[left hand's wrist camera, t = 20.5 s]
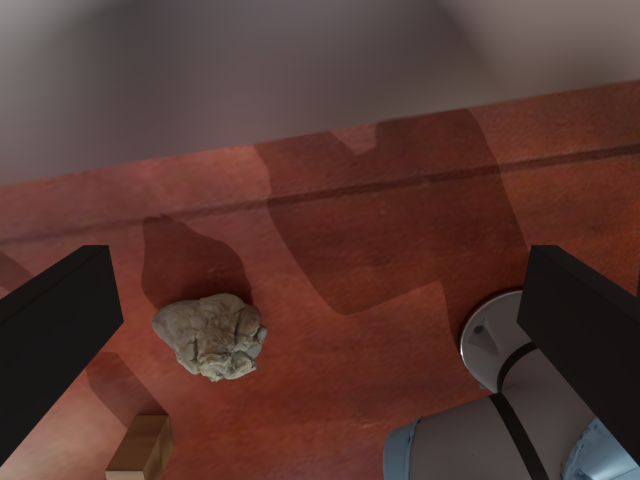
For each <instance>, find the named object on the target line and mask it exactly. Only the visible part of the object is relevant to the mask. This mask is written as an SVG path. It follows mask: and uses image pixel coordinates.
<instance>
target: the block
mask: <svg viewBox="0 0 640 480" xmlns="http://www.w3.org/2000/svg"><path fill="white" fill-rule="evenodd" d="M173 449H174V444H173V438H172V432H171V426H170V421H169V415H136V417H135V419H134V420H133V422H132V424H131V426H130V428H129V429H128V431H127V433H126V435H125V436H124V438H123V440H122V442H121V443H120V445H119V447H118V449H117V451H116V452H115V454H114V456H113V458H112V459H111V461H110V463H109V465H108V466H107V468H106V470H105V474H106V478H107V480H161V478H162V476H163V474H164V471H165V469H166V466H167V464H168V461H169V459H170V456H171V454H172V451H173Z"/></svg>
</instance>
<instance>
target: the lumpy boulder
mask: <svg viewBox="0 0 640 480" xmlns="http://www.w3.org/2000/svg"><path fill="white" fill-rule="evenodd" d="M260 319H261V313H260V311H259V310H258V308H257V307H256V306H254V305H252V306H251V305H248V304H246V303H243V300H241V299H240V298H238V297H237V296H235V295H232V294H228V293H222V294H217V295H213V296H209V297H205V298H200V300H183V301H178V302H175V303H172V304H169V305H167V306H165V307H163V308H161V309H160V310H159V311H158V312H157V313H156V314H155V315H154V317H153V319H152V327H153V329H154V331H155V333H156V334H157V335H158V336H159V337H160V338H161V339H162V340H163V341H165V342H166V343H167V344H168V345H169V346H170V347H171V348H172V349H173V350H174V352H175V353H176V359H177V360H178V362H179V363H181V364H182V365H184V367H185V368H186V369H187V370H189V371H190V372H191V373H192V374H198V373H199V372H200V373H202V375H204V376H208V377H209V379H210V380H211V381H212V382H213V381H218V380H219V379H222V378H226V379H234V378H238V377H241V376H243V375H244V374H246V373H249V372H250V371H253V370H256V365H257V364H256V361H255V357H256V356H257V355H258V353H259V352H260V351H261V343H263V342H264V340H265V336H266V334H267V328H266V327H264V326H263V325H261V324H260Z"/></svg>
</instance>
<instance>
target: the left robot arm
mask: <svg viewBox="0 0 640 480" xmlns="http://www.w3.org/2000/svg"><path fill="white" fill-rule="evenodd" d="M123 322H124V321H123V316H122V311H121V306H120V301H119V296H118V291H117V286H116V281H115V276H114V271H113V266H112V261H111V256H110V251H109V246H108V245H83V246H82V247H80V248H79V249H77V250H76V251H74V252H73V253H71V254H69V255H68V256H66V257H65V258H63V259H62V260H60V261H59V262H57V263H56V264H54V265H53V266H51V267H49V268H48V269H46V270H45V271H43V272H42V273H40V274H39V275H37V276H36V277H34V278H33V279H31V280H30V281H28V282H26V283H25V284H23V285H22V286H20V287H19V288H17V289H16V290H14V291H13V292H11V293H10V294H8V295H7V296H5V297H3V298H2V299H0V467H1V466H2V465H3V464H4V462H5V461H6V460H7V459H8V458H9V456H10V455H11V454H12V453H13V452H14V451H15V449H16V448H17V447H18V446H19V445H20V444H21V442H22V441H23V440H24V439H25V438H26V436H27V435H28V434H29V433H30V432H31V431H32V429H33V428H34V427H35V426H36V425H37V424H38V422H39V421H40V420H41V419H42V418H43V416H44V415H45V414H46V413H47V412H48V411H49V409H50V408H51V407H52V406H53V405H54V404H55V402H56V401H57V400H58V399H59V398H60V396H61V395H62V394H63V393H64V392H65V391H66V389H67V388H68V387H69V386H70V385H71V384H72V382H73V381H74V380H75V379H76V378H77V376H78V375H79V374H80V373H81V372H82V371H83V369H84V368H85V367H86V366H87V365H88V364H89V362H90V361H91V360H92V359H93V358H94V356H95V355H96V354H97V353H98V352H99V351H100V349H101V348H102V347H103V346H104V345H105V344H106V342H107V341H108V340H109V339H110V338H111V336H112V335H113V334H114V333H115V332H116V331H117V329H118V328H119V327H120V326H121V325H122V324H123ZM458 348H459V353H460V355H461V358H462V360H463V362H464V363H465V365H466V367H467V369H468V370H469V371H470V372H471V374H472V375H473V376H474V377H475V378H476V379H477V380H478V381H480V382H481V383H479V385H480V387H481V389H485V388H488V389H490V390H491V391H492V392H493V393H495V394H492V395H489V396H486V397H483V398H480V399H477V400H474V401H471V402H468V403H465V404H462V405H459V406H456V407H453V408H450V409H447V410H444V411H441V412H438V413H435V414H432V415H429V416H426V417H419V418H417V419H416V420H415V421H414V422H412V423H409V424H407V425H404V426H402V427H399V428H397V429H395V430H393V431H392V432H391V433H390V434H389V435H388V437H387V439H386V443H385V446H384V451H383V471H384V480H640V299H638V298H637V297H635V296H633V295H632V294H630V293H629V292H627V291H626V290H624V289H623V288H621V287H620V286H618V285H617V284H615V283H614V282H612V281H610V280H609V279H607V278H606V277H604V276H603V275H601V274H600V273H598V272H597V271H595V270H594V269H592V268H591V267H589V266H587V265H586V264H584V263H583V262H581V261H580V260H578V259H577V258H575V257H574V256H572V255H571V254H569V253H567V252H566V251H564V250H563V249H561V248H560V247H558V246H557V245H532V246H531V251H530V256H529V261H528V266H527V271H526V276H525V281H524V286H523V287H516V288H510V289H506V290H502V291H499V292H497V293H494V294H492V295H490V296H489V297H487V298H485V299H484V300H482V301H481V302H480V303H478V304H477V305H476V306H475V307H474V308H473V309H472V310H471V311H470V312H469V314H468V315H467V316H466V318H465V320H464V321H463V323H462V326H461V328H460V331H459V336H458Z"/></svg>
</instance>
